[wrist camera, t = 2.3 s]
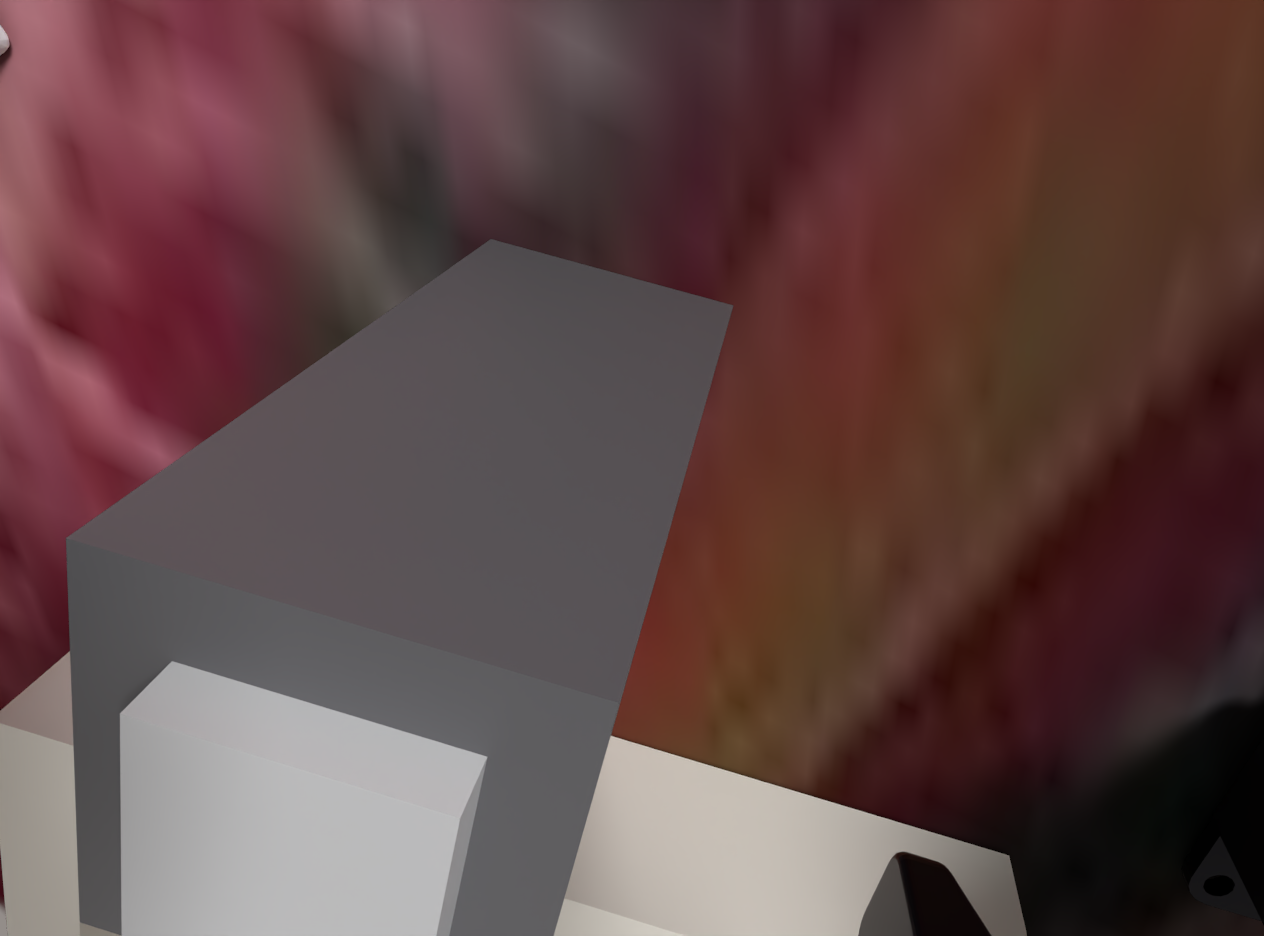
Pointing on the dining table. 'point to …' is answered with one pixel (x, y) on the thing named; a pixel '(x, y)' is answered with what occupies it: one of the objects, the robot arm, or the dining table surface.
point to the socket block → (606, 859)
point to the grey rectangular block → (386, 617)
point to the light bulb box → (3, 41)
